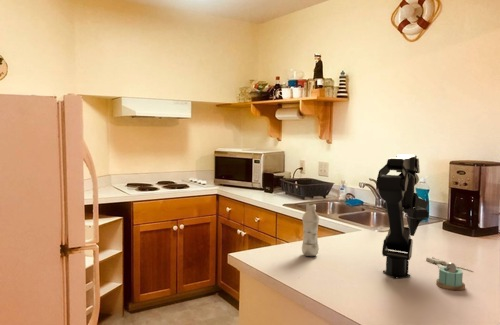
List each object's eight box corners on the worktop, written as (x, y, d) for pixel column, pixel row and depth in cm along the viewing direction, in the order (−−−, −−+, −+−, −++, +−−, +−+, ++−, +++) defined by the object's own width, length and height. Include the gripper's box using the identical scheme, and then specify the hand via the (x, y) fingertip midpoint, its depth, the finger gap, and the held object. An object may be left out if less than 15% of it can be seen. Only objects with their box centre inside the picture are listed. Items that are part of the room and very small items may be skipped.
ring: (450, 287, 119) (450, 274, 119) (434, 279, 125) (435, 267, 125) (466, 285, 121) (467, 272, 120) (450, 278, 127) (451, 265, 127)
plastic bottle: (321, 255, 153) (323, 204, 151) (312, 259, 148) (313, 206, 146) (308, 252, 157) (309, 202, 156) (298, 255, 152) (299, 204, 151)
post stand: (450, 291, 118) (451, 268, 117) (430, 282, 126) (431, 260, 125) (471, 289, 120) (472, 265, 120) (450, 279, 128) (451, 258, 127)
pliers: (452, 271, 133) (419, 258, 147) (452, 275, 133) (419, 262, 147) (474, 268, 136) (439, 255, 150) (473, 272, 136) (439, 259, 150)
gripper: (443, 192, 133) (441, 238, 134) (408, 185, 151) (407, 225, 152) (415, 193, 130) (413, 239, 132) (383, 186, 148) (381, 226, 150)
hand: (404, 232), depth 141 cm, fingers open, 9 cm apart
